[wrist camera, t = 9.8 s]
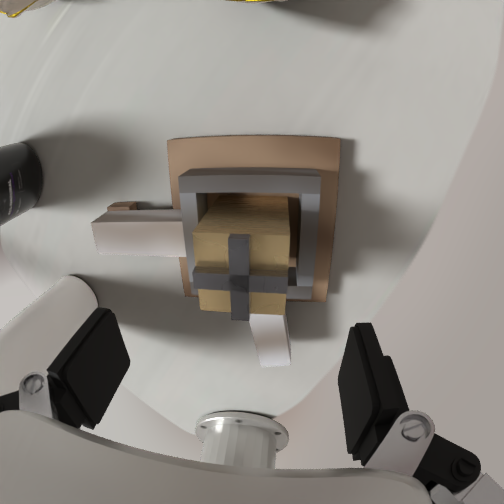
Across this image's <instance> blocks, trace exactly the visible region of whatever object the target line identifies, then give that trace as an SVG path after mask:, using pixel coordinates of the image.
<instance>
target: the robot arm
mask: <svg viewBox="0 0 504 504" xmlns="http://www.w3.org/2000/svg"><path fill="white" fill-rule="evenodd" d="M129 366H130V358H129V355H128V353H127V350H126V347H125V344H124V341H123V338H122V335H121V332H120V329H119V326H118V323H117V320H116V317H115V314H114V313H112V311H111V310H110V309H107V308H100V307H98V308H96V309H95V310H94V311H93V312H92V314H91V315H90V316H89V317H88V318H87V319H86V321H85V322H84V323H83V324H82V325H81V327H80V328H79V329H78V330H77V332H76V333H75V334H74V335H73V336H72V338H71V339H70V340H69V341H68V343H67V344H66V345H65V346H64V348H63V349H62V350H61V351H60V353H59V354H58V355H57V357H56V358H55V359H54V360H53V362H52V363H51V364H50V366H49V367H48V368H47V372H48V375H47V376H46V375H45V374H44V373H42V372H37V371H36V372H31V373H29V374H27V375H26V376H25V377H24V378H23V379H22V380H21V382H20V385H19V390H18V391H15V392H12V393H9V394H6V395H2V396H0V504H504V490H503V489H502V488H501V487H500V486H499V485H498V484H497V483H496V482H495V481H494V480H493V479H492V478H491V477H490V476H489V475H488V474H487V473H485V474H484V475H483V474H482V473H481V472H480V471H481V465H480V461H479V459H478V458H477V456H476V455H474V454H473V453H472V452H470V451H468V450H466V449H464V448H462V447H460V446H458V445H456V444H454V443H452V442H450V441H448V440H446V439H444V438H442V437H440V436H439V435H437V434H435V433H434V432H435V425H434V423H433V420H432V419H431V418H430V417H429V416H428V415H427V414H425V413H423V412H420V411H413V410H412V411H409V408H408V405H407V402H406V399H405V396H404V393H403V390H402V387H401V384H400V381H399V379H398V375H397V373H396V370H395V367H394V365H393V362H392V359H391V357H390V356H383V353H382V350H381V348H380V345H379V342H378V339H377V336H376V334H375V331H374V328H373V326H372V324H371V323H356V324H355V327H351V328H350V331H349V335H348V339H347V343H346V348H345V352H344V356H343V360H342V363H341V367H340V371H339V375H338V386H339V392H340V399H341V406H342V413H343V420H344V427H345V435H346V444H347V451H348V454H352V455H353V461H355V460H361V465H362V466H364V468H340V469H275V460H276V452H278V451H280V450H282V449H283V448H284V447H286V445H287V443H288V431H287V430H286V429H285V427H283V426H282V425H281V424H280V423H278V422H276V421H274V420H272V419H270V418H267V417H264V416H260V415H257V414H251V413H245V412H217V413H212V414H209V415H206V416H204V417H202V418H201V419H199V421H198V422H197V424H196V428H195V433H196V436H197V437H198V439H199V440H200V441H201V442H202V443H204V445H203V449H202V454H201V458H200V462H199V461H193V460H187V459H182V458H177V457H172V456H167V455H163V454H159V453H154V452H150V451H146V450H142V449H138V448H134V447H131V446H128V445H124V444H121V443H118V442H114V441H111V440H108V439H105V438H102V437H99V436H96V435H94V434H91V433H88V432H85V431H82V430H80V427H81V425H83V426H85V427H87V428H90V429H94V428H95V426H96V424H99V423H100V421H101V419H102V417H103V415H104V413H105V411H106V410H107V407H108V406H109V404H110V402H111V400H112V398H113V396H114V394H115V392H116V390H117V388H118V387H119V385H120V383H121V381H122V379H123V377H124V376H125V374H126V372H127V370H128V368H129Z"/></svg>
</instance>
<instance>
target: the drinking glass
mask: <svg viewBox="0 0 504 504" xmlns="http://www.w3.org/2000/svg"><path fill="white" fill-rule="evenodd" d="M96 308H98V302H97V299H96V296H95V294H94V292H93V291H92V289H91V288H90V287H89V286H88V285H87V284H86V283H85V282H84V281H83V280H81V279H80V278H78V277H75V276H64V277H62V278H60V279H59V280H58V281H57V282H56V283H55V284H54V285H53V286H52V287H51V288H49V289H48V290H47V291H46V292H44V293H43V294H42V295H41V296H39V297H38V298H37V299H36V300H35V301H33V302H32V303H31V304H30V305H29V306H27V307H26V308H25V309H24V310H22V311H21V312H20V313H19V314H18V315H16V316H15V317H14V318H13V319H12V320H10V321H9V322H8V323H7V324H6V325H5V326H4V327H2V328H1V329H0V396H2V395H6V394H9V393H12V392H15V391H18V390H19V385H20V382H21V380H22V379H23V378H24V377H25V376H26V375H27V374H29V373H31V372H36V371H37V372H42V373H44V374H45V375H46V376H47V375H48V372H47V368H48V367H49V366H50V364H51V363H52V362H53V360H54V359H55V358H56V357H57V355H58V354H59V353H60V351H61V350H62V349H63V348H64V346H65V345H66V344H67V343H68V341H69V340H70V339H71V338H72V336H73V335H74V334H75V333H76V332H77V330H78V329H79V328H80V327H81V325H82V324H83V323H84V322H85V321H86V319H87V318H88V317H89V316H90V315H91V314H92V312H93V311H94V310H95V309H96Z"/></svg>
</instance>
